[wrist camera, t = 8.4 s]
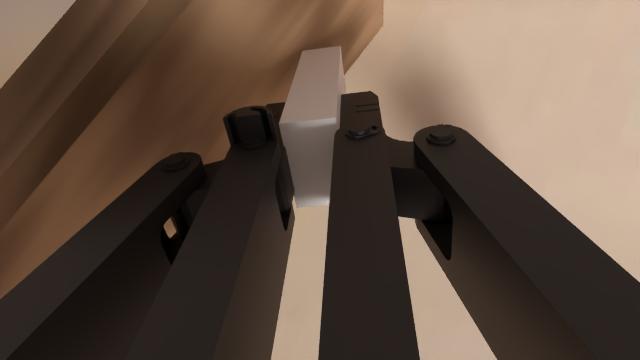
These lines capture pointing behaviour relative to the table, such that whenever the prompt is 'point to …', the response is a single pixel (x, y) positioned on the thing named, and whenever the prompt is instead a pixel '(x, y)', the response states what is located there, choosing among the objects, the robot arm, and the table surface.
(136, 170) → the gate
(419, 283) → the table surface
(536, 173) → the table surface
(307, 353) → the table surface
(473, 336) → the table surface
